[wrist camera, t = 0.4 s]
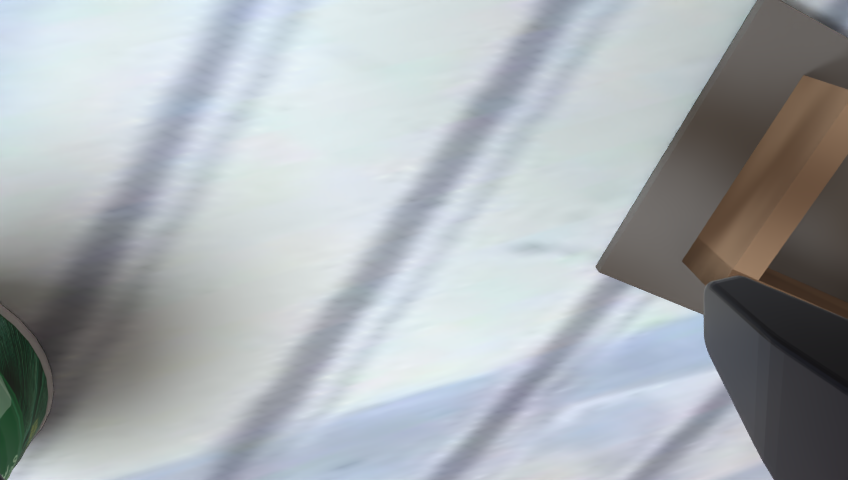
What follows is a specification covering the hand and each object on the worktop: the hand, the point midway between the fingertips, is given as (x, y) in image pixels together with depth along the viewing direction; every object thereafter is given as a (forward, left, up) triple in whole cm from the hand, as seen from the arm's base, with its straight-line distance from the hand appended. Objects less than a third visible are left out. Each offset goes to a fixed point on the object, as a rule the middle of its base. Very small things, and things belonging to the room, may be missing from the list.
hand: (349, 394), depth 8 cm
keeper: (-9, -15, -14) cm, 22 cm away
